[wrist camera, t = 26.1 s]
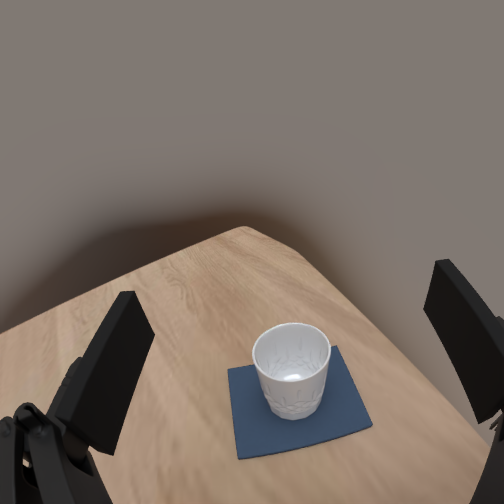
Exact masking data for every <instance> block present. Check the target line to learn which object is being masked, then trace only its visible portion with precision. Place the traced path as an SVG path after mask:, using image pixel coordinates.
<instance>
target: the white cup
mask: <svg viewBox="0 0 504 504" xmlns="http://www.w3.org/2000/svg"><path fill="white" fill-rule="evenodd" d="M330 354H331V346H330V342H329V340H328V338H327V337H326V335H325V334H324V333H323V332H322V331H320V330H319V329H317V328H316V327H313V326H311V325H308V324H304V323H285V324H280V325H277V326H274V327H272V328H270V329H268V330H267V331H265V332H264V333H263V334H262V335H261V336H260V337H259V338H258V339H257V340H256V342H255V344H254V347H253V351H252V358H253V362H254V365H255V368H256V371H257V374H258V378H259V381H260V384H261V387H262V390H263V392H264V395H265V398H266V399H267V402H268V404H269V406H270V408H271V411H272V412H273V413H275V414H276V415H277V416H279V417H280V418H283V419H288V420H298V419H303V418H306V417H308V416H309V415H311V414H312V413H313V412H315V411H316V409H317V408H318V406H319V404H320V402H321V398H322V394H323V391H324V387H325V382H326V378H327V372H328V366H329V360H330Z"/></svg>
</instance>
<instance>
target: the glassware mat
mask: <svg viewBox="0 0 504 504" xmlns="http://www.w3.org/2000/svg"><path fill="white" fill-rule="evenodd" d="M228 378H229V388H230V397H231V406H232V415H233V424H234V432H235V440H236V448H237V456H238V459H246V458H253V457H259V456H265V455H271V454H276V453H281V452H286V451H291V450H295V449H299V448H304V447H308V446H311V445H315V444H319V443H323V442H326V441H330V440H333V439H336V438H339V437H343V436H346V435H349V434H352V433H355V432H358V431H360V430H363V429H366V428H369V427H371V426H372V425H373V424H372V422H371V419H370V417H369V415H368V413H367V410H366V408H365V406H364V404H363V401H362V399H361V397H360V395H359V393H358V390H357V388H356V386H355V384H354V382H353V379H352V377H351V375H350V373H349V371H348V369H347V366H346V364H345V362H344V360H343V358H342V356H341V354H340V352H339V349H338V347H337V345H336V346H332V347H331V354H330V360H329V366H328V372H327V378H326V382H325V387H324V391H323V394H322V398H321V402H320V404H319V406H318V408H317V409H316V411H315V412H313V413H312V414H311V415H309V416H308V417H306V418H303V419H298V420H288V419H283V418H280V417H279V416H277V415H276V414H275V413H273V412H272V411H271V408H270V406H269V404H268V402H267V399H266V398H265V395H264V392H263V390H262V387H261V384H260V381H259V378H258V374H257V371H256V368H255V365H249V366H243V367H237V368H231V369H228Z"/></svg>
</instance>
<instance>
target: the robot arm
mask: <svg viewBox="0 0 504 504" xmlns="http://www.w3.org/2000/svg"><path fill="white" fill-rule="evenodd" d="M423 310H424V311H425V313H426V315H427V316H428V318H429V320H430V322H431V323H432V325H433V327H434V329H435V330H436V333H437V335H438V336H439V338H440V340H441V342H442V344H443V346H444V348H445V350H446V352H447V354H448V355H449V358H450V360H451V362H452V364H453V366H454V368H455V370H456V372H457V374H458V376H459V378H460V381H461V383H462V385H463V387H464V390H465V392H466V394H467V396H468V399H469V402H470V404H471V406H472V408H473V411H474V414H475V416H476V419H477V422H478V424H480V423H482V422H484V421H486V420H488V419H490V418H492V417H493V416H494V415H495V414H496V413H497V412H498V410H500V409H501V411H502V414H501V415H500V416H499V417H498V418H497V420H495V422H493V423H492V424H491V427H490V429H493V428H494V427H495V426H496V425H497V424H498V425H497V427H496V429H495V431H496V433H495V436H494V440H493V443H492V447H491V450H490V453H489V456H488V459H487V462H486V465H485V468H484V470H483V473H482V476H481V478H480V481H479V483H478V485H477V488H476V490H475V492H474V495H473V497H472V499H471V501H470V503H469V504H504V320H503V319H502V318H501V317H500V316H498V317H495V316H494V315H493V313H492V312H491V310H490V309H489V308H488V306H487V305H486V304H485V302H484V301H483V300H482V298H481V297H480V296H479V294H478V293H477V292H476V291H475V290H474V288H473V287H472V286H471V285H470V283H469V282H468V281H467V280H466V278H465V277H464V276H463V275H462V274H461V273H460V271H459V270H458V269H457V268H456V267H455V266H454V264H453V263H452V262H451V261H450V260H449V259H444V260H438V261H435V266H434V270H433V275H432V279H431V283H430V287H429V291H428V294H427V298H426V302H425V305H424V308H423ZM154 336H155V334H154V332H153V330H152V328H151V326H150V324H149V322H148V319H147V317H146V315H145V313H144V311H143V309H142V307H141V304H140V302H139V300H138V298H137V296H136V293H135V291H122V292H120V293H119V295H118V296H117V298H116V300H115V301H114V303H113V305H112V306H111V308H110V309H109V311H108V313H107V315H106V316H105V318H104V320H103V321H102V323H101V325H100V326H99V328H98V330H97V332H96V333H95V335H94V337H93V339H92V341H91V342H90V344H89V346H88V348H87V350H86V352H85V353H84V355H83V357H78V358H77V359H76V360H75V361H74V362H73V363H72V364H71V366H70V367H69V369H68V371H67V373H66V375H65V376H66V377H65V378H64V379H63V381H62V383H61V384H62V385H61V386H60V387H59V389H58V391H57V393H56V395H55V397H54V399H53V401H52V403H51V405H50V407H49V410H48V412H47V413H46V415H44V414H43V413H42V412H41V411H40V410H39V409H38V408H37V407H36V406H35V405H34V404H33V403H29V402H27V403H23V404H22V405H20V406H19V407H18V408H17V410H16V411H15V413H14V416H13V418H11V417H8V416H7V417H4V418H3V419H1V420H0V504H113V503H112V501H111V499H110V497H109V495H108V493H107V490H106V488H105V486H104V484H103V482H102V479H101V477H100V475H99V472H98V470H97V468H96V465H95V463H94V460H93V457H92V455H91V453H90V452H89V451H88V447H89V445H90V446H91V447H92V448H94V449H95V450H97V451H98V452H102V453H105V454H108V455H112V456H114V452H115V449H116V446H117V442H118V439H119V436H120V433H121V429H122V426H123V423H124V420H125V417H126V414H127V411H128V408H129V405H130V402H131V399H132V396H133V393H134V390H135V388H136V385H137V382H138V379H139V376H140V374H141V371H142V368H143V365H144V363H145V360H146V357H147V355H148V352H149V349H150V347H151V344H152V342H153V339H154ZM23 459H25V460H26V461H28V462H29V467H26V466H24V465H23Z"/></svg>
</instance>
